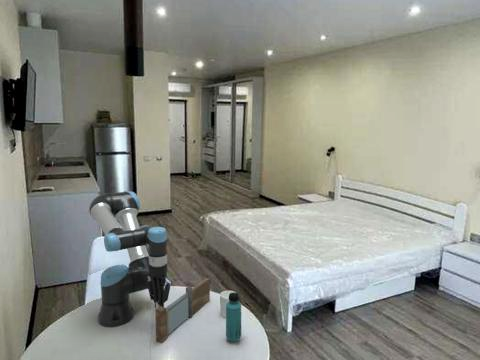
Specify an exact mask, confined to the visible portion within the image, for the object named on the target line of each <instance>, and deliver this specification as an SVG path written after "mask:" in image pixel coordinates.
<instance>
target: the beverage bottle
mask: <svg viewBox="0 0 480 360" xmlns="http://www.w3.org/2000/svg"><path fill="white" fill-rule="evenodd" d="M239 300H240V298H239V293H237V292H236V293H230V294H229V302H228V303H227V304H226V318H225V337H226V339H227V340H229V341H231V342H236V341H237V342H238V341H239V340H240V339H241V338H242V303H241V302H240V301H239Z"/></svg>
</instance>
